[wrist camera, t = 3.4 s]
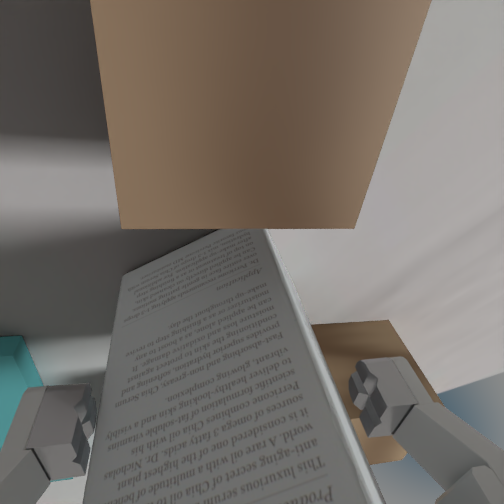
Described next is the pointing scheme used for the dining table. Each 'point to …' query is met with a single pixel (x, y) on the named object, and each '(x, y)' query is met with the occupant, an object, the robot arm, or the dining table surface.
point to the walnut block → (250, 107)
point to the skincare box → (221, 388)
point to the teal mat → (14, 380)
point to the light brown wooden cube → (343, 365)
